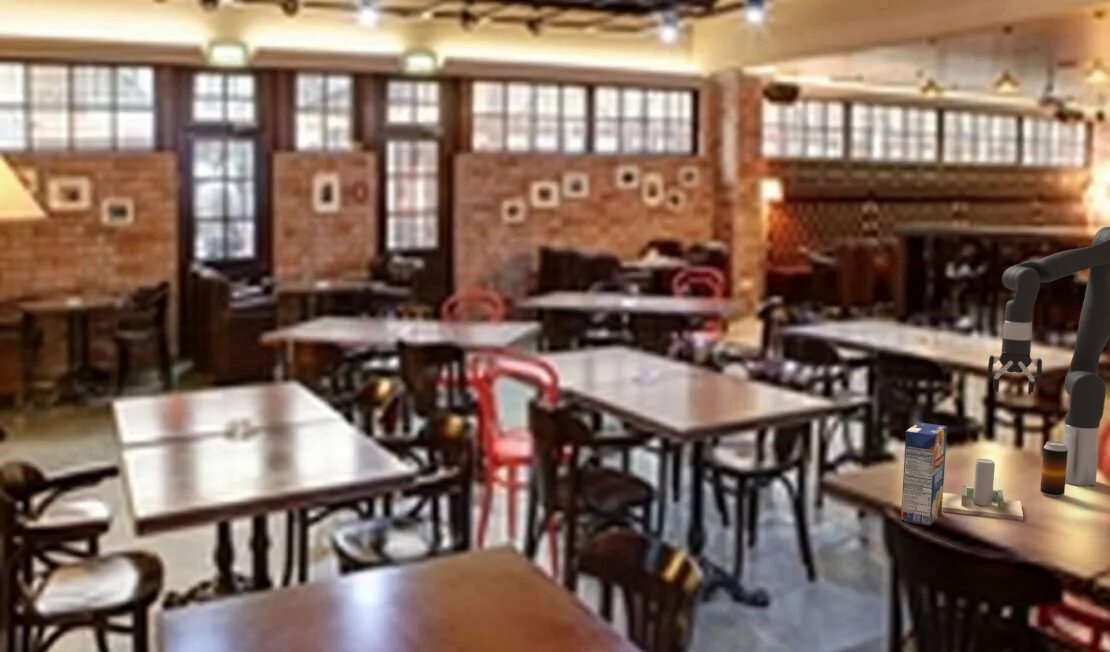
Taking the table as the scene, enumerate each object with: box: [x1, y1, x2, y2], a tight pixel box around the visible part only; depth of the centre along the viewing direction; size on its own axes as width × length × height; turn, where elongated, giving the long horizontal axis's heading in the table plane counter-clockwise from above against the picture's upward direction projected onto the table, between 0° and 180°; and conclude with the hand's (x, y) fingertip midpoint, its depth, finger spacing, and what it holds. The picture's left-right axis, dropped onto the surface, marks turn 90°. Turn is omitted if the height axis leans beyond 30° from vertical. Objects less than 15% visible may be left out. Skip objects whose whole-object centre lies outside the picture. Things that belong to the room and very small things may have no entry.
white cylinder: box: [973, 458, 996, 506], centre depth 288 cm, size 5×5×12 cm
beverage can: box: [1040, 440, 1068, 498], centre depth 300 cm, size 6×6×15 cm
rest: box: [942, 485, 1024, 521], centre depth 288 cm, size 20×14×4 cm
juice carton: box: [900, 422, 948, 526], centre depth 279 cm, size 12×8×24 cm, turn 146°
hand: (1012, 392), depth 303 cm, fingers open, 8 cm apart
